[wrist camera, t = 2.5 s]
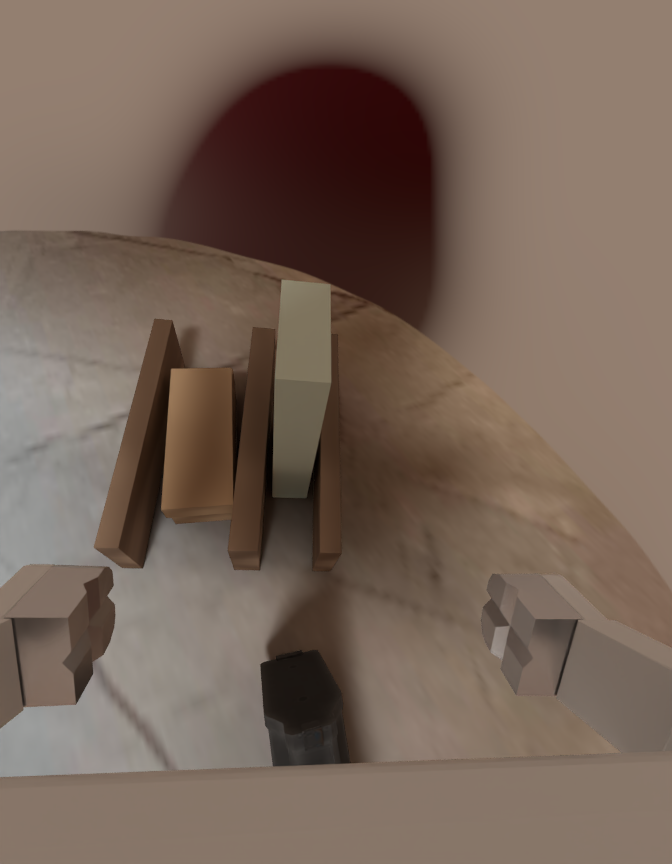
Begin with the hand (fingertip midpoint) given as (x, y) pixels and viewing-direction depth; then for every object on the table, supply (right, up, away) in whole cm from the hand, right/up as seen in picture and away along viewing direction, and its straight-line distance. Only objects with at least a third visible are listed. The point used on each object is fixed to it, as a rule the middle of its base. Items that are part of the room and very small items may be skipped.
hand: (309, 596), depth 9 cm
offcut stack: (-9, +2, +22) cm, 24 cm away
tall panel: (-3, +2, +22) cm, 23 cm away
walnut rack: (-6, +2, +22) cm, 23 cm away
